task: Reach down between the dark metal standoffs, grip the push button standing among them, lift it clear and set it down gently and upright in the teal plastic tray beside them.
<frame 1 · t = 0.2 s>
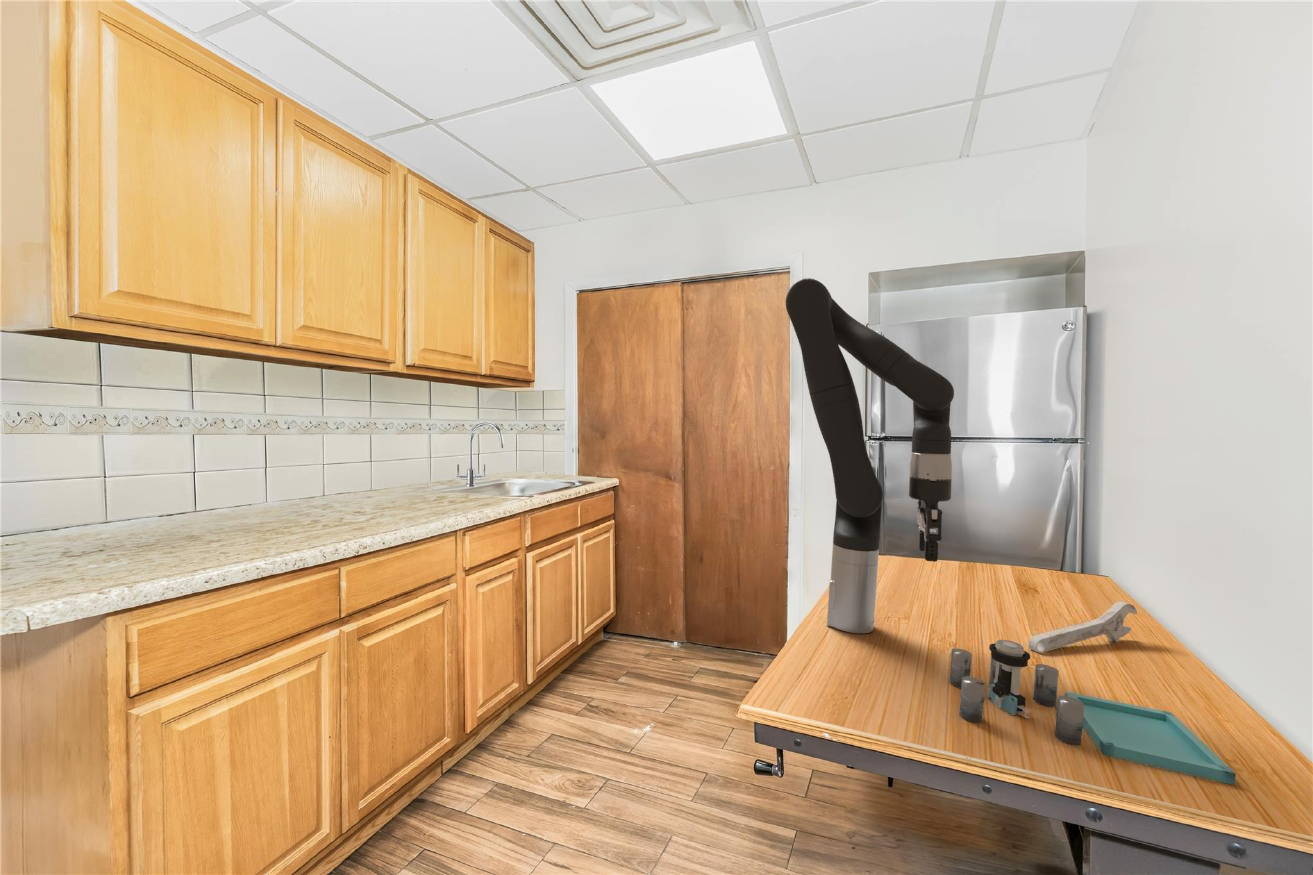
hand: (927, 555, 107), 17 cm above the table, tool pointing down, fingers open, 8 cm apart
wrench: (1083, 646, 110), on the table
push button: (1008, 710, 82), on the table
tray: (1138, 737, 76), on the table
standoff cluster: (1008, 709, 82), on the table
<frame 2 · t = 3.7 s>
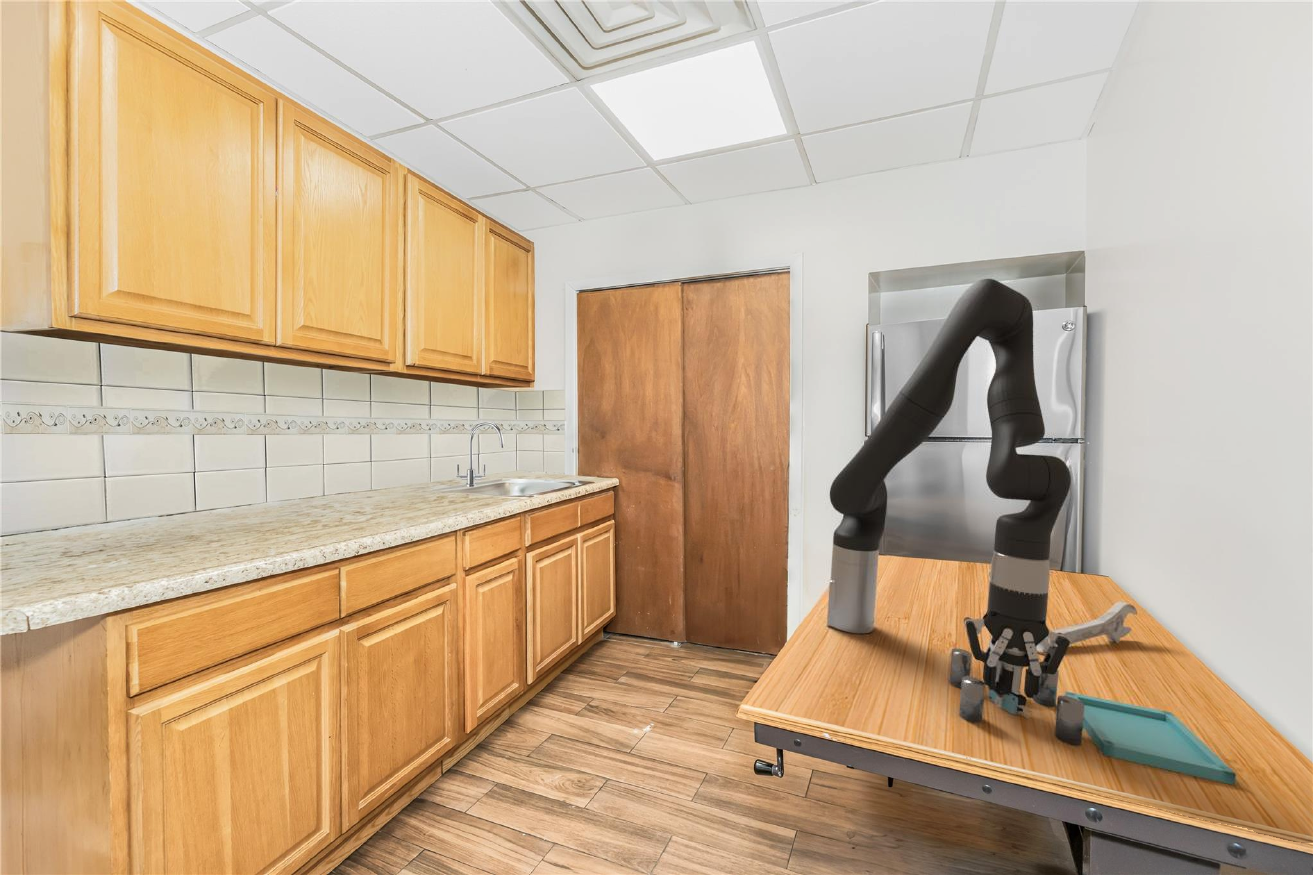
hand: (1009, 691, 82), 3 cm above the table, tool pointing down, fingers closed on push button, 4 cm apart
push button: (1008, 710, 82), on the table, touching gripper
everything else where it was.
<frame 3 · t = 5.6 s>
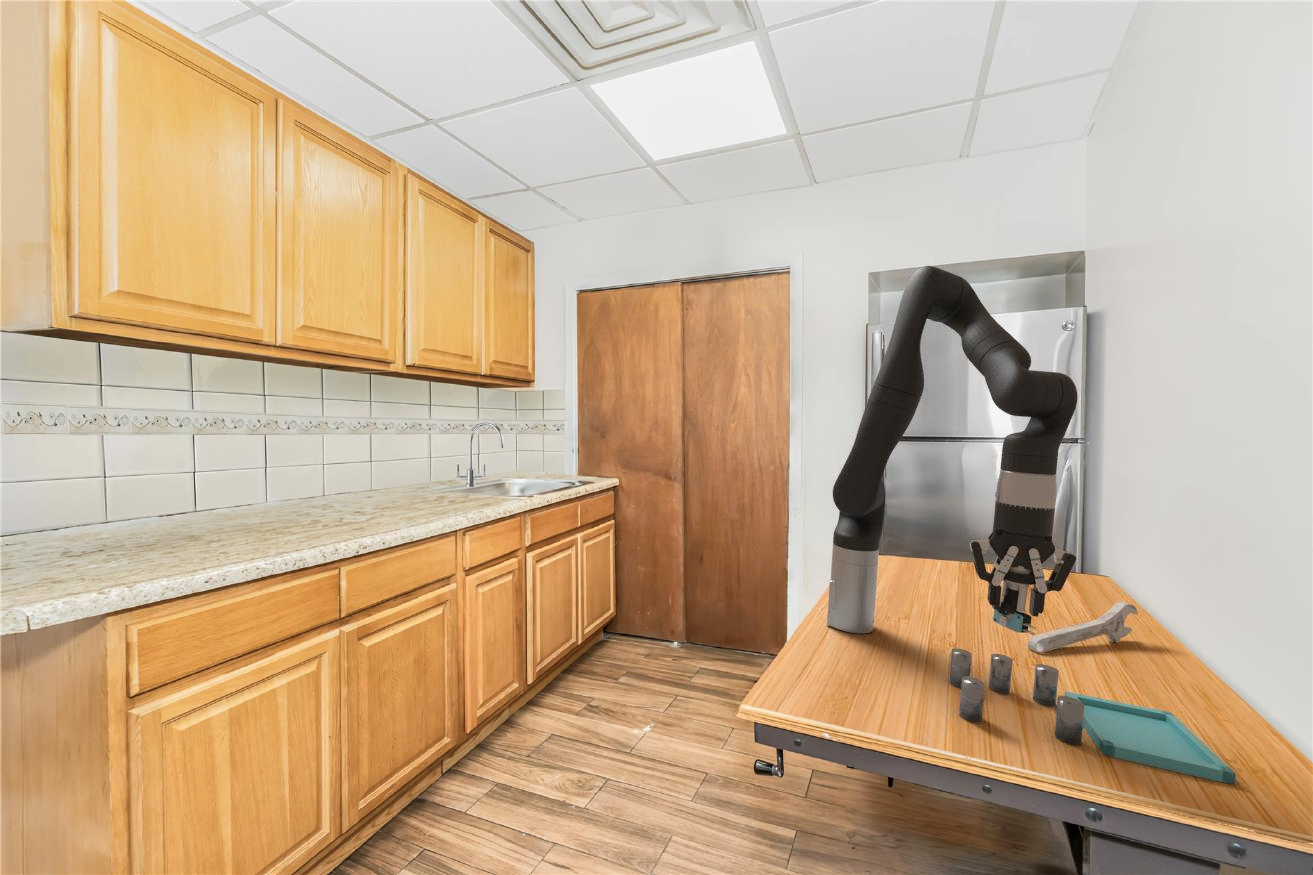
hand: (1014, 610, 82), 16 cm above the table, tool pointing down, fingers closed on push button, 4 cm apart
push button: (1013, 630, 82), point 13 cm above the table, touching gripper
everything else where it was.
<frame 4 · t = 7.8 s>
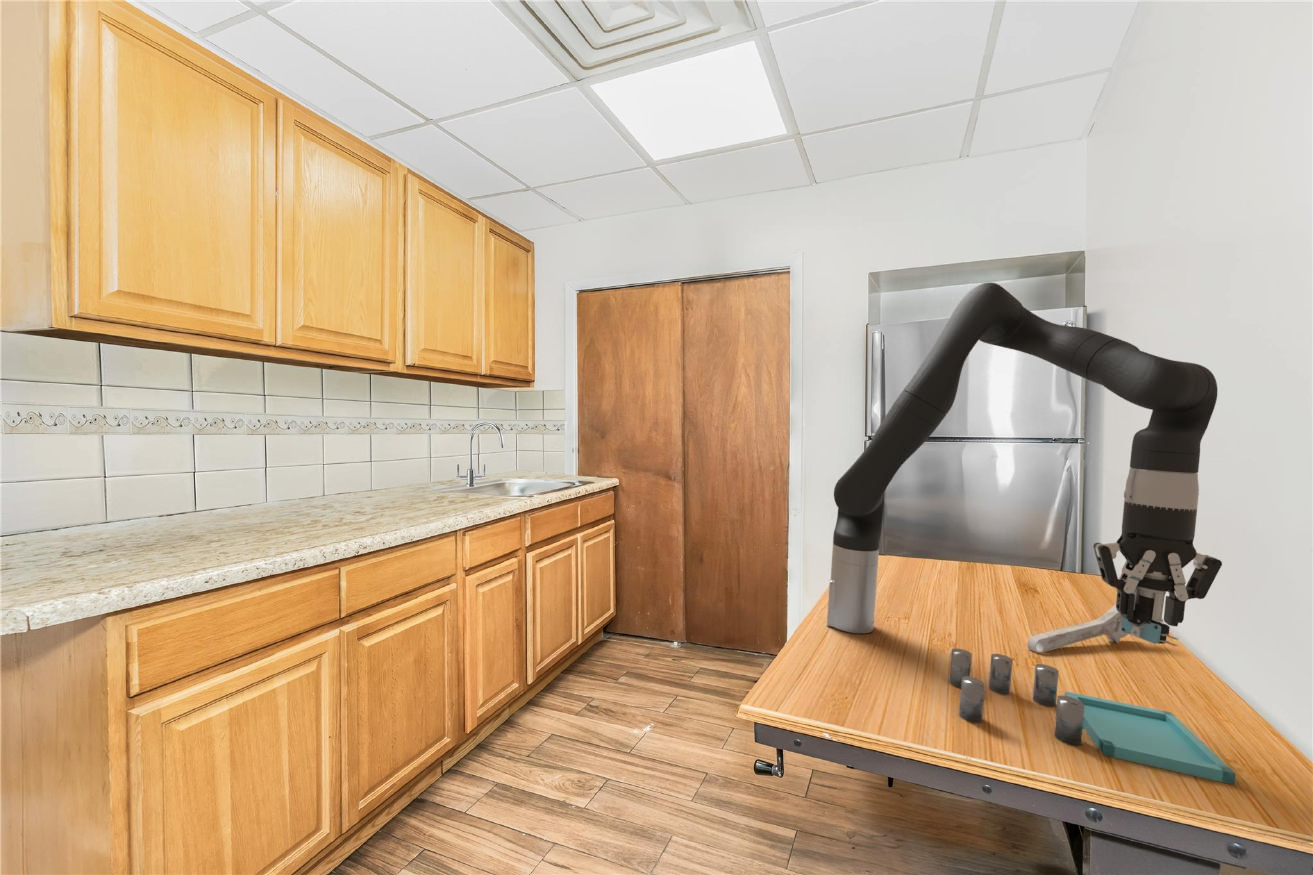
hand: (1148, 620, 76), 17 cm above the table, tool pointing down, fingers closed on push button, 4 cm apart
push button: (1147, 640, 76), point 14 cm above the table, touching gripper
everything else where it was.
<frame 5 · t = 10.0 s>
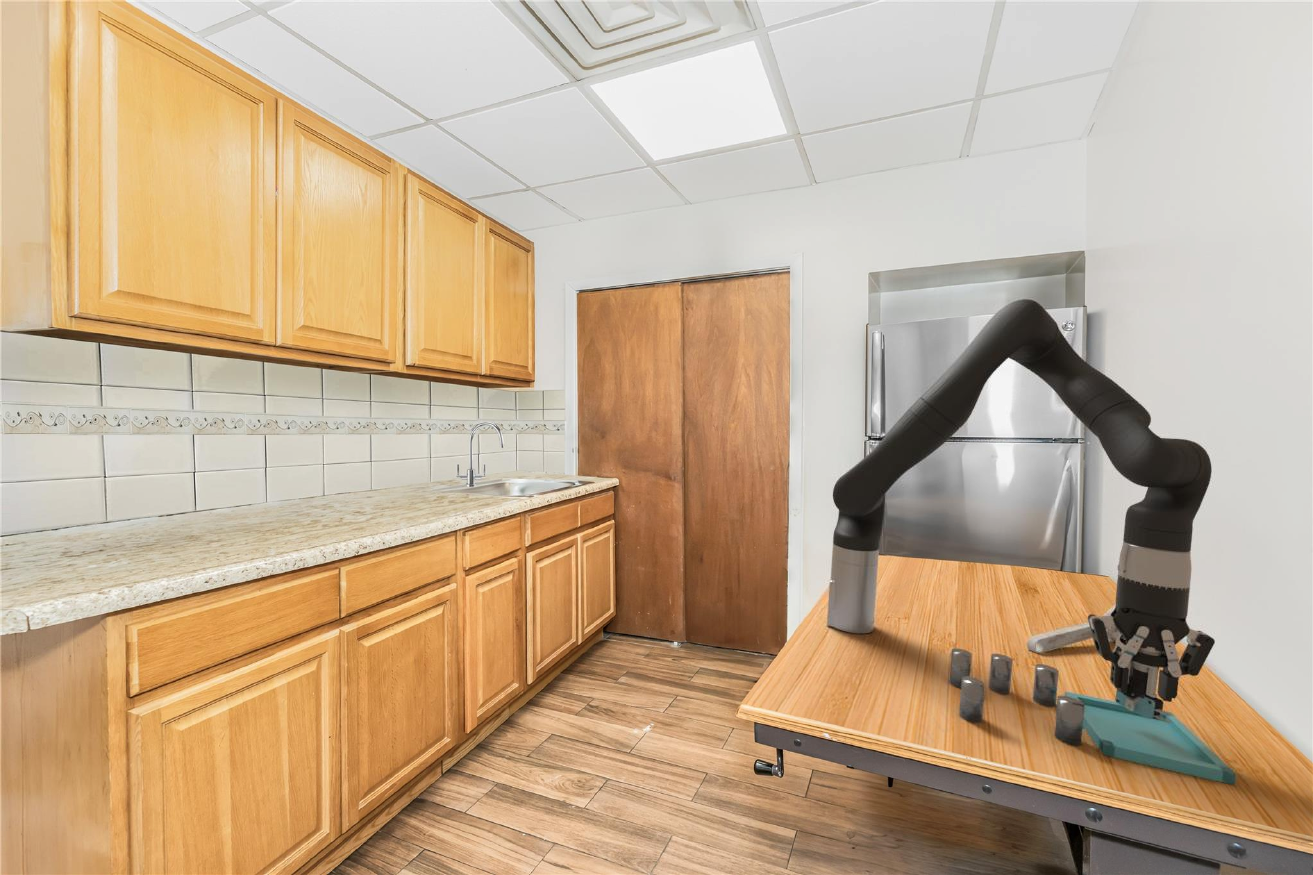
hand: (1142, 694, 76), 6 cm above the table, tool pointing down, fingers closed on push button, 4 cm apart
push button: (1141, 714, 76), point 3 cm above the table, touching gripper
everything else where it was.
when the fingers open (4 cm above the table, at t = 11.8 s): push button stays where it is, resting on tray.
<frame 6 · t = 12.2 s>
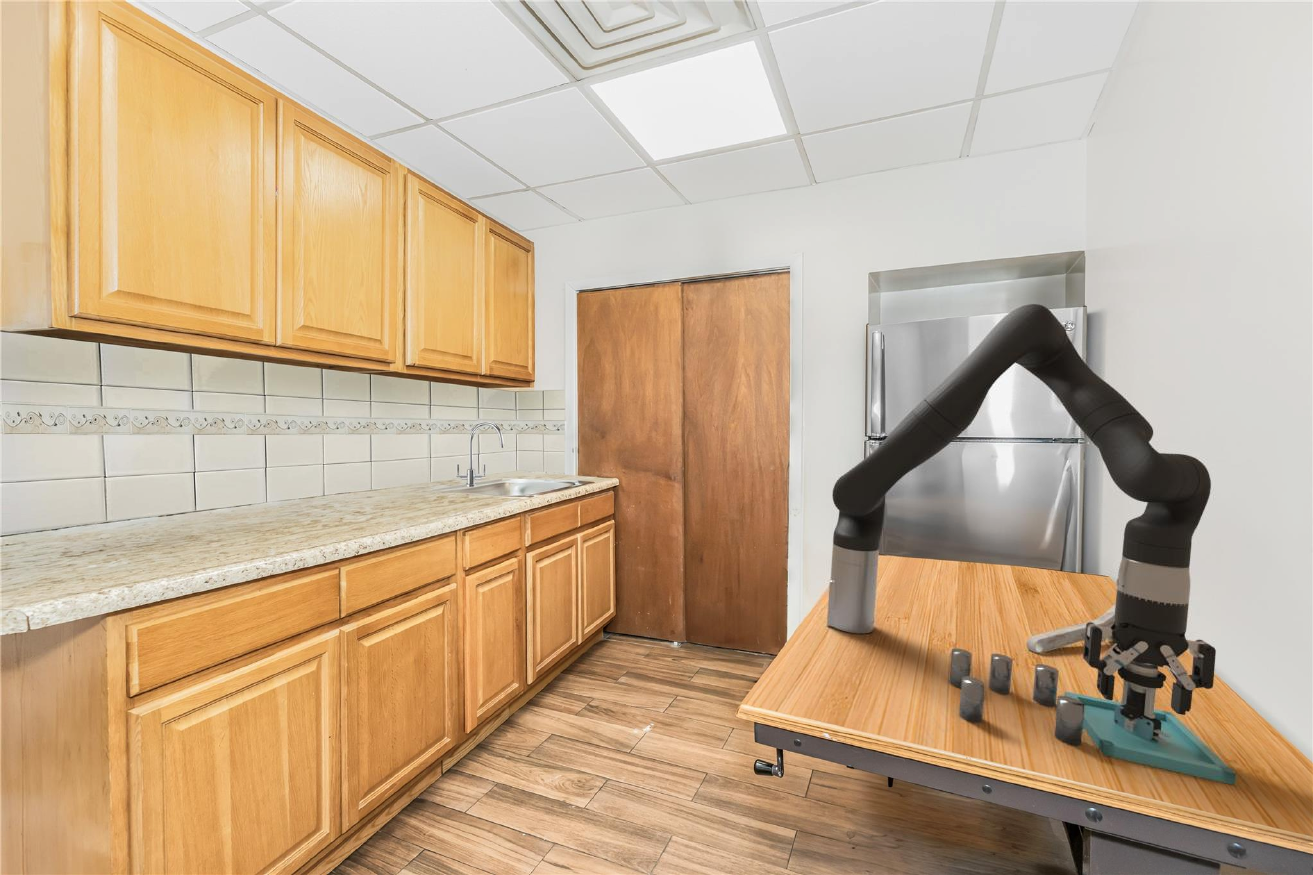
hand: (1141, 704, 76), 5 cm above the table, tool pointing down, fingers open, 7 cm apart
push button: (1140, 734, 76), resting on tray
everything else where it was.
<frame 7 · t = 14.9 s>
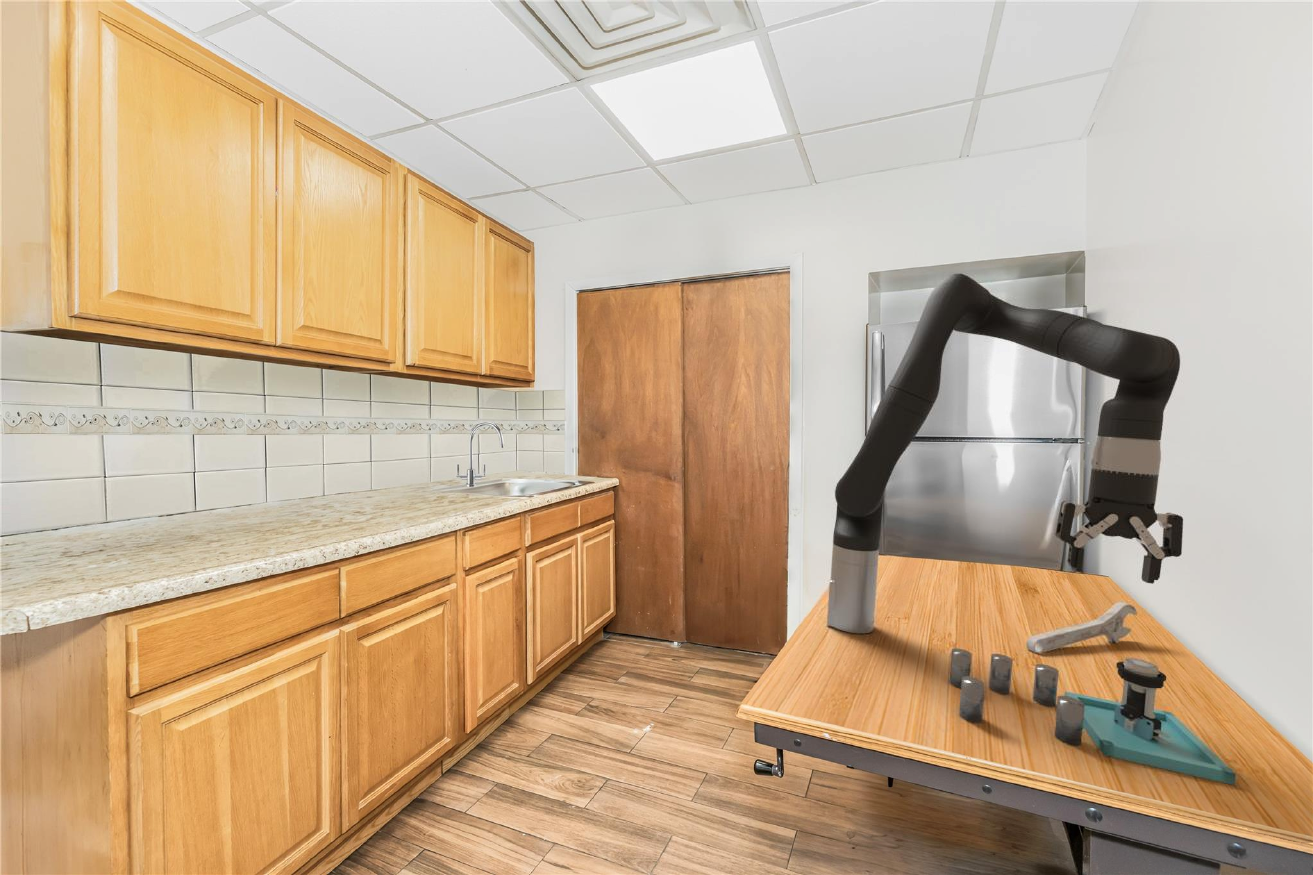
hand: (1111, 576, 79), 22 cm above the table, tool pointing down, fingers open, 8 cm apart
nothing on the table moved.
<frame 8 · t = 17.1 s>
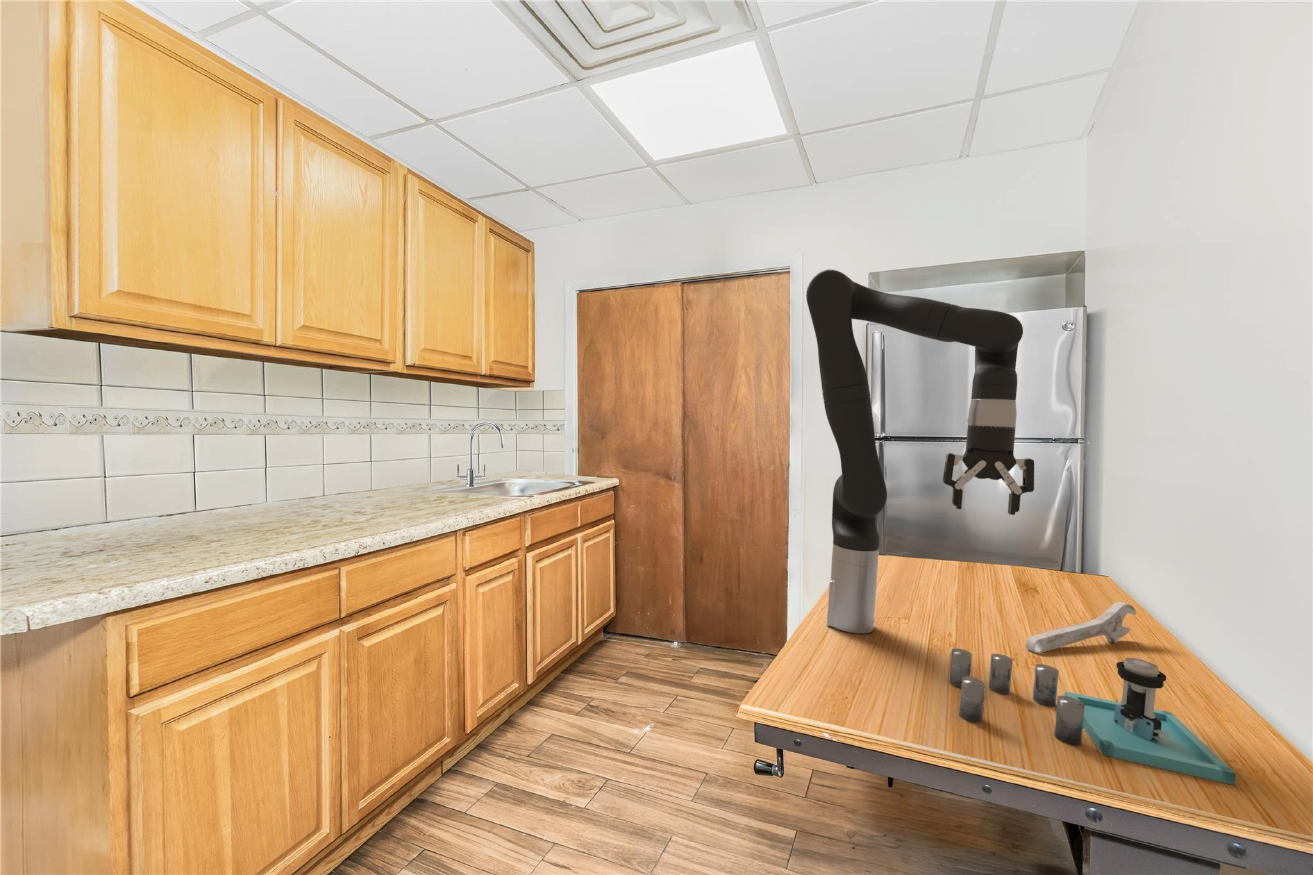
hand: (984, 511, 99), 28 cm above the table, tool pointing down, fingers open, 8 cm apart
nothing on the table moved.
at the end: push button inside the target area on the tray (0.2 cm from its centre), point 0.4 cm above the tray's base; push button tilted 0°; the gripper is holding nothing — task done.
